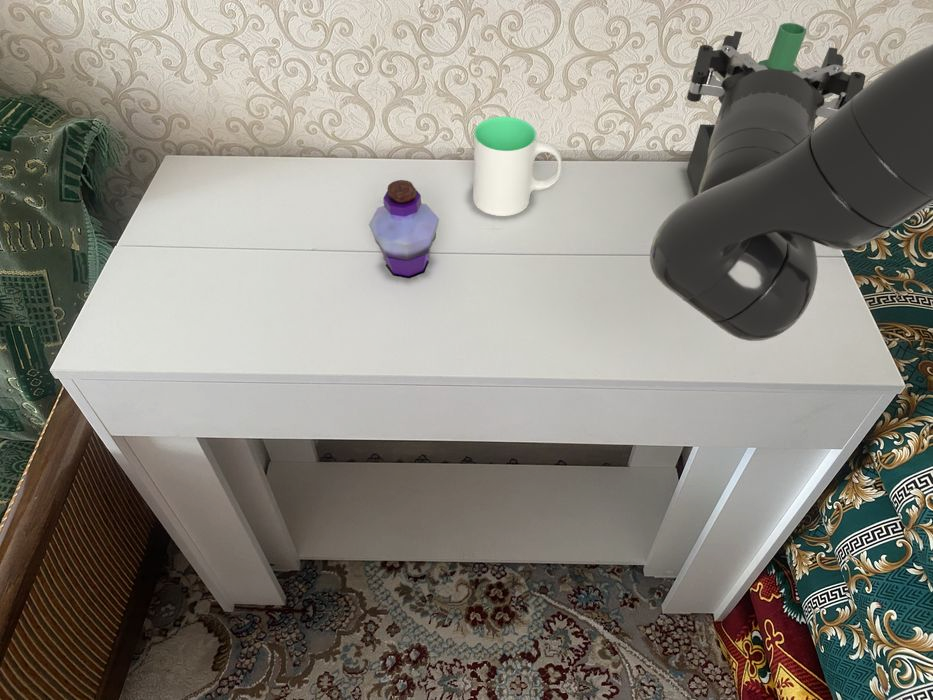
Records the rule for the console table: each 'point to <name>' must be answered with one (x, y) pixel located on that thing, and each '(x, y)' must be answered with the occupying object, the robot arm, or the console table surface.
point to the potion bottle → (404, 230)
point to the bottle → (785, 47)
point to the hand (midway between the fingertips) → (781, 49)
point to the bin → (699, 157)
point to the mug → (507, 165)
